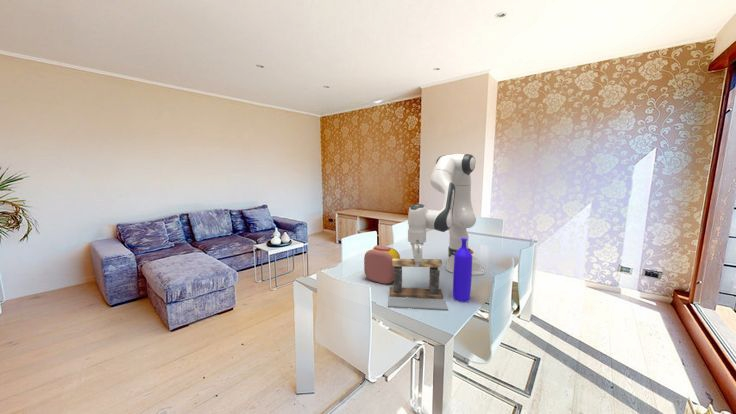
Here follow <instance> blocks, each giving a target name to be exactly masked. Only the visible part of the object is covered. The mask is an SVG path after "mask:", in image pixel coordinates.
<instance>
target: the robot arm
mask: <svg viewBox="0 0 736 414" xmlns="http://www.w3.org/2000/svg"><path fill="white" fill-rule="evenodd" d="M475 168H476V158H475V157H474V155H473V154H470V153H465V154H464V153H454V154H448V155H445V154H444V155H441V156H439V157H438V158H437V159H436V161H435V164H434V168H433V170H432V172H431V176H430V179H429V180H430V185H431V186H432V188H433V189H435V191H437V192H438V193H441V194H443V195H444V197H443V204H442V209H440V210H437V209H436V210H434V209H429V208H426V205H425V204H423V203H422V204H421V203H415V204H412V205H410V207H408V214H407V225H408V228H407V242H409V243H410V245H411V250H412V255H413V259H414V261H415V266H416V267H415V268H420V267H419V262H422V259H423V246H424V244H425V243H426V242H427V230H426V229H429V230H434V231H435V230H436V231H437V232H442V233H445V232H447V231H449V238H448V239H449V242H448V243H449V246H448V249H447V256H448V257H447V262H446V266H445V270H446V271H447V272H450V273H452V274H453V273H454V258H455V253H456V252H457V251H458V250H459V249H460V248H461V246H462V240H461V238H466V239H468V240H467V241H466V247H467V249H468V250H469V251H470V253H471V254H472V276H475V275H477V276H479V275H480V276H481V275H485V270H484V269H483V267H481V263H480V261H479V259H478V258H476V257H475V256H474V255H473V254H475V252H474V250H472V249H471V248H470V247H469V233H468V231H467V229H471V228H472V227H474V225H476V222H477V217H476V215H475V213H474V209H473V205H472V198H471V191H472V189H471V188H472V177H471V173H472V172H474V170H475Z"/></svg>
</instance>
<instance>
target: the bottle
mask: <svg viewBox="0 0 736 414" xmlns="http://www.w3.org/2000/svg"><path fill="white" fill-rule="evenodd" d="M461 240H462V246H461V248H460V249H459V250H458V251H457V252H456V253H455V258H454V273H452V274H453V275H452V276H453V277H452V278H453V279H452V298H453V299H454V300H455V301H457V302H460V303H465V302H468V301H470V298H471V292H472V291H471V290H472V277H473V275H472V255H473V254H471V253H470V251H469V250H468V249H467V247H466V241H467V240H468V241H469V239H466V238H461Z"/></svg>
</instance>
